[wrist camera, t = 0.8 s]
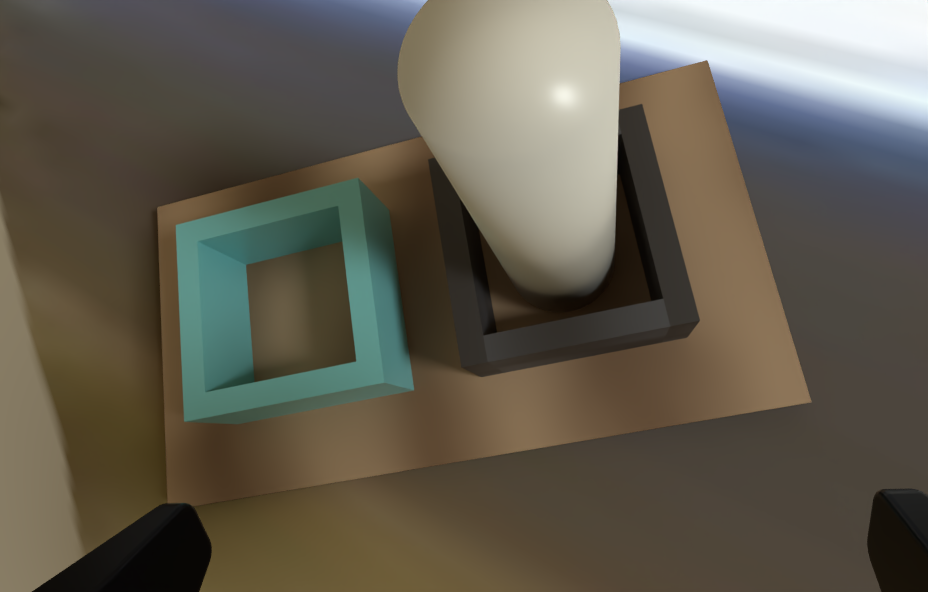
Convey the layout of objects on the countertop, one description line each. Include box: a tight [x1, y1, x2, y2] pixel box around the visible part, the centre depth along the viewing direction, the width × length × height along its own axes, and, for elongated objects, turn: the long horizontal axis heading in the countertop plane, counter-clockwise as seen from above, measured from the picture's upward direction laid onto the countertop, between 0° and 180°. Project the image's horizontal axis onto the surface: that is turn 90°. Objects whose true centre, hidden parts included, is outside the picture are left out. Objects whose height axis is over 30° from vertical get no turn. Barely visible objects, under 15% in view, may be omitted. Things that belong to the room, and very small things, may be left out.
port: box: [176, 178, 414, 424], centre depth 22 cm, size 7×7×3 cm
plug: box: [398, 0, 620, 312], centre depth 16 cm, size 4×4×12 cm
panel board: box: [157, 61, 811, 506], centre depth 21 cm, size 22×12×4 cm, turn 99°
